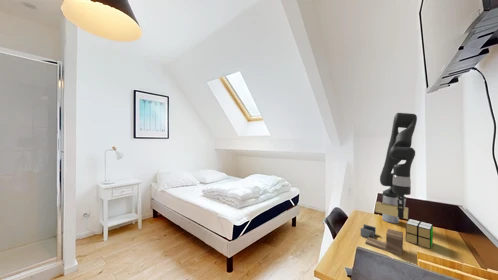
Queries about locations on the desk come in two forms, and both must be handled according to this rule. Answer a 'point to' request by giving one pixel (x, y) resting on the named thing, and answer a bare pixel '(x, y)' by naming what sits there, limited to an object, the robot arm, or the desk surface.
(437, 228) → the desk surface
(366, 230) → the cradle
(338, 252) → the desk surface
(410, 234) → the puzzle cube
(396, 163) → the robot arm
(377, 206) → the axle bar
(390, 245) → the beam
